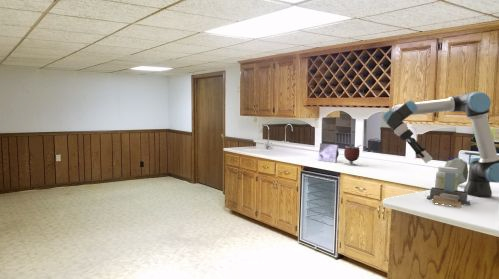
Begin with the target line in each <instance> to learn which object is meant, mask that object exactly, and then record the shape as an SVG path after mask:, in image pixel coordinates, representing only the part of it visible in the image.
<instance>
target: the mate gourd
mask: <svg viewBox="0 0 499 279" xmlns="http://www.w3.org/2000/svg"><path fill="white" fill-rule="evenodd" d="M360 147H362V144H360V145H357V146H345V147H344V153H343V154H344V158H345V160H347V161H349V162H348V163H344V164H343V165H345V166H348V167H358V164H355V163H354V162H355V161H357V160H358V159H359V157H360Z"/></svg>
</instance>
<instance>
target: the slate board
mask: <svg viewBox="0 0 499 279" xmlns="http://www.w3.org/2000/svg"><path fill="white" fill-rule="evenodd" d="M455 177H456V173H452V172H445V183H444V190H446V191H453V192H454V188H455Z"/></svg>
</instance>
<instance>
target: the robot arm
mask: <svg viewBox="0 0 499 279" xmlns="http://www.w3.org/2000/svg"><path fill="white" fill-rule="evenodd" d="M491 105H492V99H491V97H490V96H489V95H488V94H487V93H485V92H481V91H472V92H467V93H466V92H465V93H462V94H458V95H453V96H449V97H448V98H444V99H443V98H441V99H435V100H434V99H433V100H426V101H417V102H414V101H413V100H411V99H409V100H407V101H405V102H404V103H400V104H399V103H397V104H394V105H393V106H392V108H391V109H389V110H388V111H386V112H385V113H384V114H383V115H382V120H383V121H384V122H385V124H387V126H388V127H389V128H390V129H391V130H392V131H393V132H394V133H393V134H394V135H396V136H397V137H399V139H400V140H401V142H405V141H406V142H407V144H408V145H409V146H410V148H411V149H413V152H414V153H415V155H416V156H419V158H420V159H422V161H423V162H424V163H425V164H427V163H428V162H431V161H432V160H433V157H432V156H431V155H430V154H429V153H428V151H427V150H426V148H425V147H423V146H422V145H421V144H420V143H419V142H418V141H417V140H416V138H415V137H412V136H413V135H414V131H412V130H411V129H410V128H409V127H408V125H407V124H406V123H405V122H404V120H405V119H407V118H408V117H410V116H414V115H415V116H417V115H424V114H432V113H441V112H449V113H450V112H451V113H458V112H460V113H465V114H466V118H468V119H470V121H471V122H470V123H471V125H472V126H471V127H472V130H473V134H474V137H475V141H476V142H475V143H476V145H477V149H478V153H479V157H471V158H470V159H469V163H468V164H469V168H468V178H467V181H466V185H465V186H464V189H463V191H465V192H468V194H467V196H468V195H469V196H473V197H475V196H476V197H481V198H483V197H484V198H492V197H493V191H492V188H491V185H490V184H491V183H498V184H499V155H498V152H497V148H496V144H495V141H494V137H493V133H492V128H491V126H490V122H489V117H488V115H489V114H490V108H491Z"/></svg>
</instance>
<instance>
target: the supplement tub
mask: <svg viewBox="0 0 499 279" xmlns="http://www.w3.org/2000/svg"><path fill="white" fill-rule="evenodd" d="M437 170H438V171H436V174H435V185H434V187H435V188H442V189H444V183H445V172H452V173H456V177H455V188H454V190H457V191H458V188H459V185H458V178H459V175H458V173H457V172H458V169H457V168H452V167H444V166H438V167H437Z"/></svg>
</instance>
